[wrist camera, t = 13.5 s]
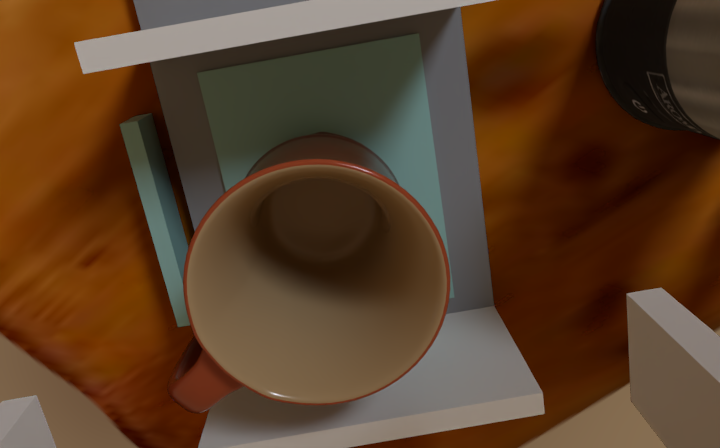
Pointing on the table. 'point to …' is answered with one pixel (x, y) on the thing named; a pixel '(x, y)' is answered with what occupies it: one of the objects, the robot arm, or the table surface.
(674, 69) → the milk frother
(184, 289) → the mug
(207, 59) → the rack
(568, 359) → the table surface
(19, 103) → the table surface
